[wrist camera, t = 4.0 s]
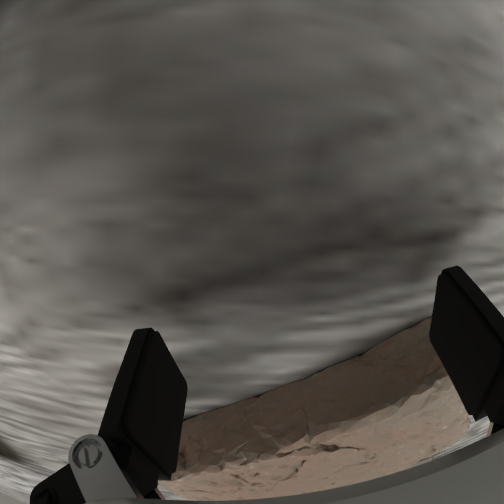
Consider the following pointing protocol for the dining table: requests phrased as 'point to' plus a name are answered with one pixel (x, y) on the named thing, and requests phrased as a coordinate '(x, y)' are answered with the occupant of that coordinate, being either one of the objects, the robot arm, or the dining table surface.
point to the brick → (325, 427)
